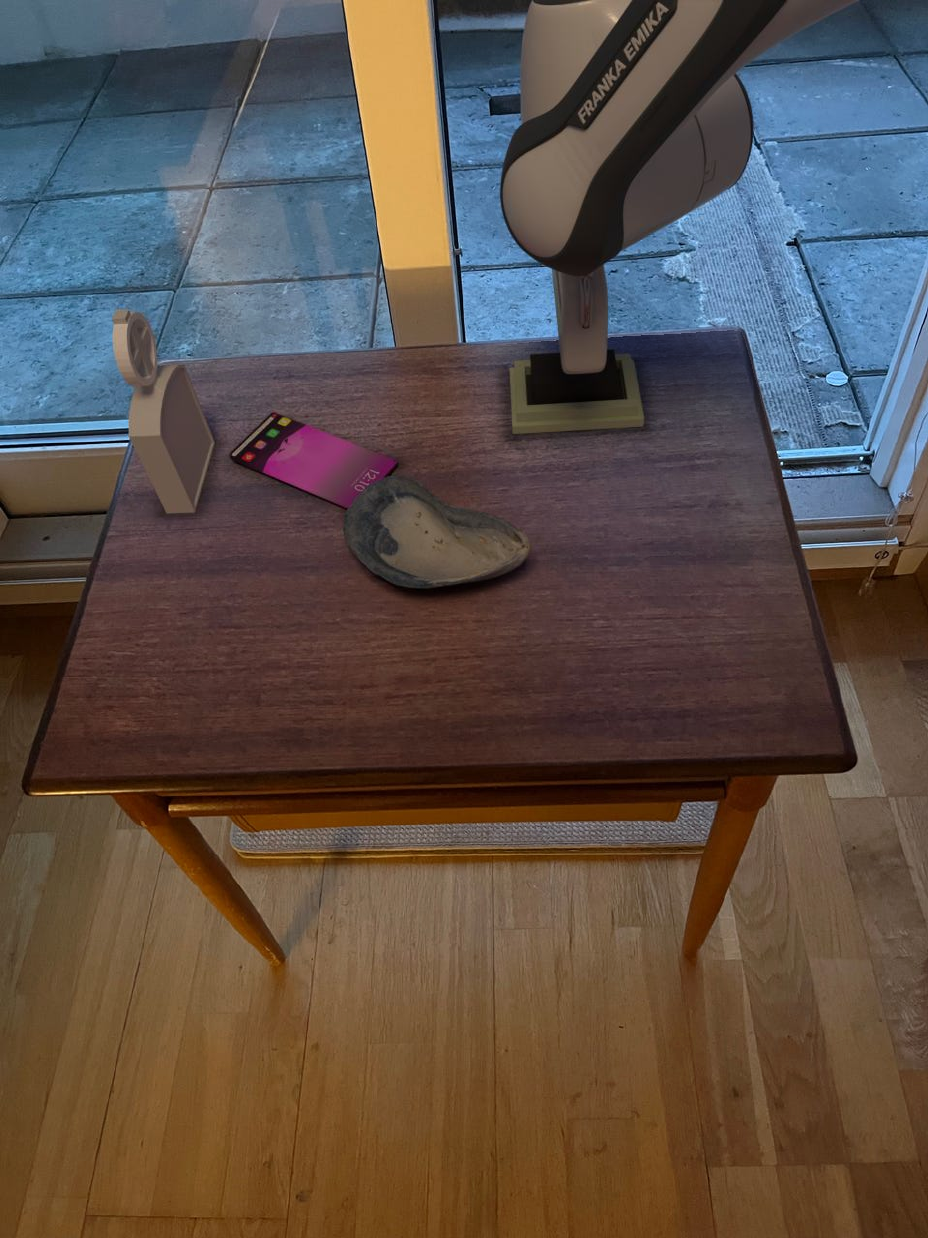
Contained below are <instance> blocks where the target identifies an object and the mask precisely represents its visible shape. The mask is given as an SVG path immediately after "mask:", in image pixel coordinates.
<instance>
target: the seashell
mask: <svg viewBox="0 0 928 1238" xmlns="http://www.w3.org/2000/svg"><path fill="white" fill-rule="evenodd" d="M343 519H344V521H343V530H342V531H343V537H344V540H345V541H346V543H347V546H349V548H350V549H351V551H352V553H353V555H354V556H355V557H356V558H357V559H358V560H359V561H360V563H362V564H363V565H364V566H365V567H366V568H367V569H368V570H369V571H370V572H371V573H372V574H374V575H376V576H378V577H382V578H383V579H384V580H386V581H387V582H388V583H391V584H394V585H396V586H399V587H405V588H411V589H433V588H435V589H436V588H440V587H441V588H442V587H445V586H456V585H460V584H469V583H475V582H480V581H485V580H489V579H493V578H497V577H500V576H502V575H505V574H507V573H510V572H512V571H513V570H515V569H516V568H518V567H520V566H521V565H522V564H523V563H524V562H525V560H526V559H527V558H528V556H529V554H530V551H531V547H532V546H531V545H532V544H531V540H530V538H529V537H530V536H528V535H527V534H526V533H525V532H524V531H523V530H522V529H520V528H519V527H517V526H516V525H514V524H513V523H510V522H509V521H508V520H505V519H503V518H500V517H498V516H496V515H494V514H491V513H488V512H484V511H479V510H474V509H469V508H464V507H459V506H455V505H452V504H450V503H447V502H444V501H443V500H442V499H441V498H439V497H438V496H436V494H434V493H433V492H431V491H430V490H429V489H428V487H427V488H426V486H425V485H423V484H422V482H420V481H418V480H416V479H415V478H413V477H411V476H408V475H407V476H406V475H388V476H387V477H384V478H381V479H379V480H377V481H375V482H373V483H371V484H370V485H369V486H367V487H366V488H365V489H364V490H362V491H361V493H360V494H359V495H357V496H356V498H355V499H354V500H353V501H352V503H351V505H350V506H349V507H348V509H346V513H345V515H344V518H343Z"/></svg>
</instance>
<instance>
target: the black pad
mask: <svg viewBox="0 0 928 1238" xmlns="http://www.w3.org/2000/svg"><path fill="white" fill-rule="evenodd" d="M529 356H530V357H529V360H530V364H531V388H532V403H533V405H542V404H558V403H575V402H591V401H608V400H617V394H618V380H619V377H618V371H617V365H616V358H615V349H614V348H607V360H606V365H605V368H604V369H603V370H602V371H601V372H597V373H587V374H566V373H564V371H563V369H562V365H561V356H560V351H559V352H544V353H531V354H530V355H529Z"/></svg>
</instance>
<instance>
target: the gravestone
mask: <svg viewBox="0 0 928 1238" xmlns="http://www.w3.org/2000/svg"><path fill="white" fill-rule="evenodd" d="M111 320H112V322H113V328H112V348H113V354H114V359H115V363H116V366H117V369H118V371H119V374H120V375H121V377H122V379H123V380H124V381H125V383H126V384H127V385H129V386H131V387H134V389H133V393H132V397H131V401H130V406H129V411H128V412H129V414H128V438H129V441H130V442H131V444H132V446H133V448H134V451H135V452H136V454H137V456H138V458H139V460H140V462H141V464H142V467H143V468H144V470H145V472H146V475H147V477H148V479H149V480H150V483H151V485H152V487H153V489H154V491H155V493H156V495H157V497H158V500H159V501H160V503H161V505H162V507H163V509H164V512H165V513H166V514H167V515H168V514H196V512H197V509H198V504H199V501H200V498H201V494H202V491H203V487H204V484H205V480H206V476H207V474H208V469H209V466H210V462H211V459H212V455H213V452H214V450H215V449H214V448H215V446H216V441H215V439H214V436H213V433H212V430H211V428H210V426H209V423H208V421H207V418H206V416H205V413H204V410H203V407H202V405H201V403H200V400H199V398H198V396H197V393H196V390H195V387H194V385H193V383H192V380H191V378H190V375H189V373H188V370H187V368H186V365H185V364H183V363H182V364H164V365H163V364H162V365H161V364H160V365H158V349H157V342H156V339H155V335H154V332H153V329H152V327H151V324H150V322H149V321H148V319H147V318H146V316H145V315H144V314H143V313H142V312H140V311H131V310H130V309H129V308H127V309H115V310H114V313H113V316H112V318H111Z"/></svg>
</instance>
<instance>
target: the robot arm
mask: <svg viewBox="0 0 928 1238" xmlns="http://www.w3.org/2000/svg"><path fill="white" fill-rule="evenodd" d="M859 1H860V0H531V2H530V3H529V6H528V10H527V13H526V17H525V22H524V26H523V33H522V41H521V42H522V43H521V52H520V53H521V57H520V80H519V81H520V90H519V91H520V120H521V124H520V125H519V126H517V128H516V129H515V130H514V132H513V134H512V136H511V138H510V141H509V142H508V143H509V144H508V146H507V149H506V153H505V156H504V160H503V164H502V170H501V175H500V183H499V184H500V185H499V198H500V199H499V201H500V209H501V214H502V217H503V221H504V223H505V226H506V228H507V230H508V232H509V234H510V235H511V238H512V239H513V241H514V243H516V245H517V246H518V247H519V248H520V250H522V251H523V252H524V253H525V254H526V255H527V256H528V257H530V258H531V259H533V260H535V261H536V262H538V263H539V264H541V265H543V266H545V267H547V268H548V269H551V274H552V285H553V286H552V287H553V296H554V306H555V307H554V308H555V315H556V316H555V317H556V326H557V334H558V345H559V352H560V356H561V365H562V369H563V371H564V373H566V374H587V373H597V372H601V371H602V370H603V369H604V368H605V365H606V360H607V349H608V335H609V334H608V333H609V332H608V331H609V291H608V283H607V277H606V270H605V264H607V263H608V262H610V261H611V260H613V259H614V258H615V257H617V256H619V254H620V253H621V252H622V251H624V250H626V249H628V248H631V246H634V245H635V244H636V243H638V242H640V241H642V240H644V239H646V238H648V237H649V236H651V235H653V234H655V233H657V232H658V231H661V230H663V229H664V228H665V227H667V226H669V225H671V224H673V223H675V222H677V221H678V220H679V219H681V218H683V217H684V216H687V214H690V213H691V212H693V211H695V210H697V209H698V208H700V207H702V206H704V205H706V204H707V203H709V202H711V201H712V200H714V199H715V198H718V197H719V196H721V195H722V194H724V192H726V191H728V190H730V189H731V188H732V187H734V186H735V185H736V184H737V183H738V182H739V180H740V179H741V177H742V176H743V174H744V173H745V170H746V168H747V166H748V163H749V161H750V157H751V152H752V149H753V144H754V134H755V133H754V132H755V126H754V114H753V107H752V103H751V99H750V97H749V94H748V91H747V89H746V87H745V85H744V83H743V81H742V79H741V78H740V77H739V75H738V74H737V73H738V72H740V71H741V70H742V69H743V68H744V67H746V66H747V65H748V64H750V63H751V62H753V61H754V60H756V59H757V58H759V57H761V55H763V54H764V53H766V52H767V51H769V50H770V49H772V48H774V47H776V46H777V45H779V44H780V43H782V42H783V41H785V40H787V39H789V38H790V37H792V36H794V35H796V34H797V33H799V32H801V31H803V30H805V29H806V28H808V27H811V26H812V25H814V24H816V23H817V22H820V21H822V20H824V19H825V18H827V17H829V16H831V15H834V14H835V13H837V12H839V11H841V10H843V9H845V8H847V7H849V6H850V5H853V4H854V3H855V4H856V2H859Z"/></svg>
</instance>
